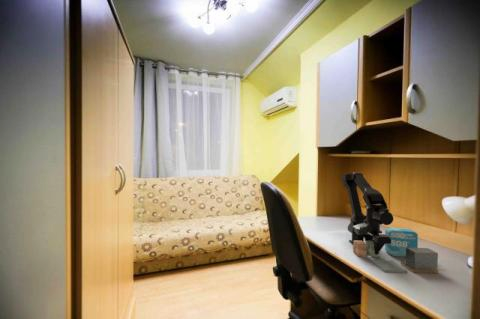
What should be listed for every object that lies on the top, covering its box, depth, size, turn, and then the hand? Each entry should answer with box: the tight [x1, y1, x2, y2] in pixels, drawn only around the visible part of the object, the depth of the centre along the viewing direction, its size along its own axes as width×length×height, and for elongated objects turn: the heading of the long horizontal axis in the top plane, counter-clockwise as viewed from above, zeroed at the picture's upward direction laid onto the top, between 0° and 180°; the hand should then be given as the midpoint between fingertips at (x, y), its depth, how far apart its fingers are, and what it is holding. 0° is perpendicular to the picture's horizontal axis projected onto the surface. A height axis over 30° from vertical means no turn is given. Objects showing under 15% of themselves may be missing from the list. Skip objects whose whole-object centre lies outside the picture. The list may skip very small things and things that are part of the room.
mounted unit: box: [400, 247, 440, 274], centre depth 94 cm, size 7×10×8 cm
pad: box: [371, 259, 408, 274], centre depth 95 cm, size 9×9×1 cm
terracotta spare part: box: [352, 240, 367, 257], centre depth 107 cm, size 4×4×6 cm
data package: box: [384, 227, 419, 258], centre depth 108 cm, size 12×4×12 cm, turn 77°
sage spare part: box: [365, 241, 380, 258], centre depth 107 cm, size 4×4×6 cm
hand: (372, 251), depth 107 cm, fingers open, 6 cm apart
